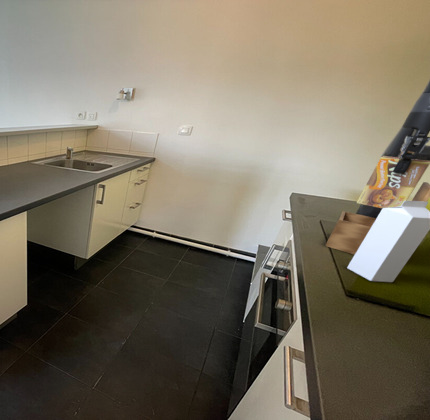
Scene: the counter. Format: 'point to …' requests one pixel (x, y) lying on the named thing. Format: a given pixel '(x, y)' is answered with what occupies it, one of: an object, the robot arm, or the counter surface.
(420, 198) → the lid
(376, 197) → the candy box
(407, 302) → the counter surface
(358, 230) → the bread box
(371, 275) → the milk
